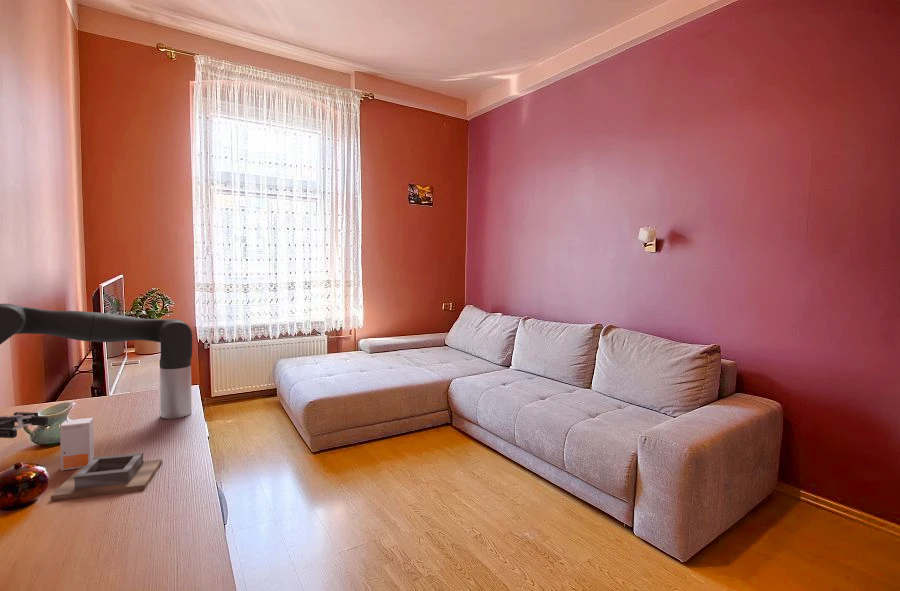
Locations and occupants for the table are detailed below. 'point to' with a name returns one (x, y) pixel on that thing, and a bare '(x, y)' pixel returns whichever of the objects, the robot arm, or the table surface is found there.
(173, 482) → the table surface
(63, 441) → the skincare box
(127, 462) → the socket stand
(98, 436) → the table surface
